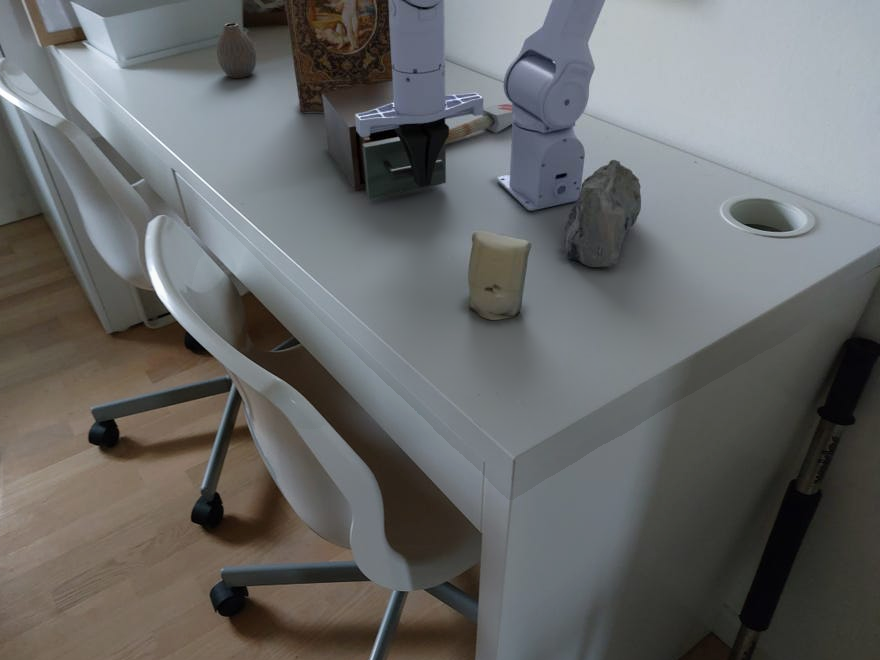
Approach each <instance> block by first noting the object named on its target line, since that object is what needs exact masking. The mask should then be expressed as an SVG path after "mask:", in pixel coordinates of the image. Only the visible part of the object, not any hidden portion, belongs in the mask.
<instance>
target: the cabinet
mask: <svg viewBox="0 0 880 660" xmlns="http://www.w3.org/2000/svg"><path fill="white" fill-rule="evenodd" d="M322 98H323V106H324V113H323V114H324V123H325V130H326V138H327V147H328V153H329V154H330V156H331V157H332V159H333V160H334V162H335V163H336V165H337V166H338V168H339V169H340V170H341V172H342V174H343V175H344V176H345V178H346V179H347V181H348V182H349V184H350V185H351V187H352V188H353V190H354V191H355V192H357V191H361V190H366V183H365V181H364V180H363V178H362V177H361V176H360V174H359V164H358V153H357V142H356V133H355V132H357V131H356V121H355V114H359V113H364V112H367V111H370V110H373V109H376V108H379V107H382V106H385V105H388V104H391V103H393V102H394V96H393V81H389V82H383V83H377V84H371V85H365V86H359V87H353V88H347V89H341V90H336V91H330V92H324V93H322Z"/></svg>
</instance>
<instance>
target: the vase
mask: <svg viewBox="0 0 880 660" xmlns="http://www.w3.org/2000/svg"><path fill="white" fill-rule="evenodd" d="M216 56H217V61H218V64H219V66H220V68H221V70H222V71H223V73H224V74H225V75H227V76H228V77H229V78H232V79H243V78H247V77H249V76H251V75H252V73H253V72H254V70H255V68H256V66H257V65H256V64H257V52H256V49H255V46H254V44H253V42H252V40H251V38H250V37H249V35H247V34H246V33H245V32H244V31H243V30H242V28H241V27H240V25H239V24H238V23H237V22H228V23H225V24H224V25H223V30H222V32H221V35H220V36H219V38H218V41H217V44H216Z"/></svg>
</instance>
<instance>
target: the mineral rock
mask: <svg viewBox="0 0 880 660" xmlns="http://www.w3.org/2000/svg"><path fill="white" fill-rule="evenodd" d="M641 209H642V194H641V183H640V178H638V177H637V176H636V175H635V174H634V173H633V171H632V170H631V169H630V168H627V167H626V166H624V165H622V164H621V161H619V160H616V159H611V160H609V162H608V164H606V165H603V166H600V167H599V168H598V169H596V170H595V171H594V172H593V173H592V175H589V176H588V177H586V178H585V179H584V181H583V182H582V183H581V192H580V194H579V198H578V199H577V201H574V204H573V206H572V208H571V210H570V212H569V215H568V217H567V218H568V219H567V220H566V221H565V224H564V230H565V234H566V238H565V244H566V245H565V253H566V255H565V256H566V257H567V258H568V259H570V260H577V261H579V262H580V263H581V264H583V265H585V266H587V267H589V268H599V267H604V268H610V267H612V266H614V265H616V263H617V262H618V261H619V258H620V252H621V249H622V245H623V243H624V239H625V237H626V232H627V231H628V230H629V229H631V228H632V227H633V226H634V225H635V224H636V223H637V220H638V216H639V215H640V213H641Z"/></svg>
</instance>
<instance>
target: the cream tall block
mask: <svg viewBox="0 0 880 660" xmlns="http://www.w3.org/2000/svg"><path fill="white" fill-rule="evenodd" d="M471 242H472V245H471V251H470V256H469V262H468V272H467V280H468V282H467V283H468V292H469V294H468V295H469V296H468V308H469V309H470V310H472V311H474V312H476V313H477V315H478V316H480V317H482V318H484V319H487V320H491V321H499V320H503V319H514V318H516V317H517V316H518V315H519V314H520V312H521V309H522V306H523V305H522V304H523V296H524V288H525V282H526V275H527V269H528V260H529V255H530V252H531V249H532V243H531V241H529V240H525V239H520V238H516V237H513V236H508V235H506V234H505V235H504V234H500V233H495V232H491V231H487V230H477V231H474V232H473V233H472V235H471Z"/></svg>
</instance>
